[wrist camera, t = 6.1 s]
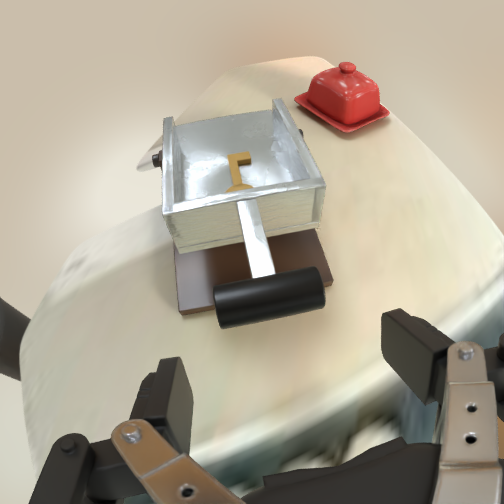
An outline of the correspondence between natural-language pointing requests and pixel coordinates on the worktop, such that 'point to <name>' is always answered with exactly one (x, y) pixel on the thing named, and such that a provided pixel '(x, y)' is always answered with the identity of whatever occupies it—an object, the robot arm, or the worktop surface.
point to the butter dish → (343, 98)
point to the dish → (245, 206)
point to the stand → (239, 264)
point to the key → (235, 172)
